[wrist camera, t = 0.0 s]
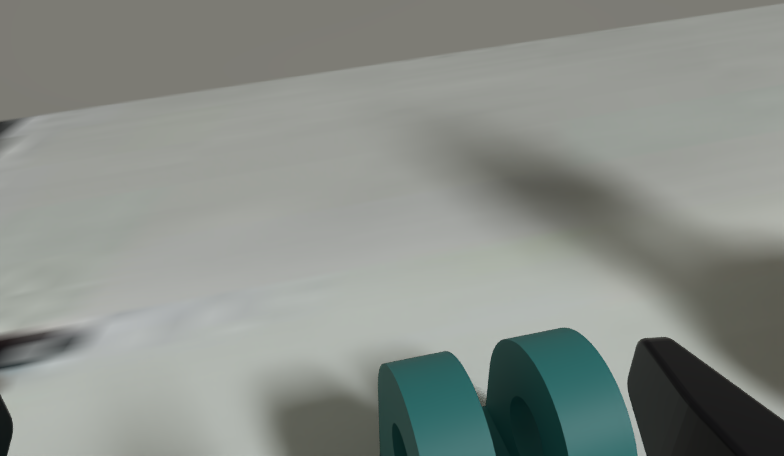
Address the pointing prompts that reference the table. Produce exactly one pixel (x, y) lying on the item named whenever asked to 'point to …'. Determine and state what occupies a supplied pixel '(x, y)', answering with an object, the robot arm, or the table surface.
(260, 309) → the table surface
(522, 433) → the bracket
